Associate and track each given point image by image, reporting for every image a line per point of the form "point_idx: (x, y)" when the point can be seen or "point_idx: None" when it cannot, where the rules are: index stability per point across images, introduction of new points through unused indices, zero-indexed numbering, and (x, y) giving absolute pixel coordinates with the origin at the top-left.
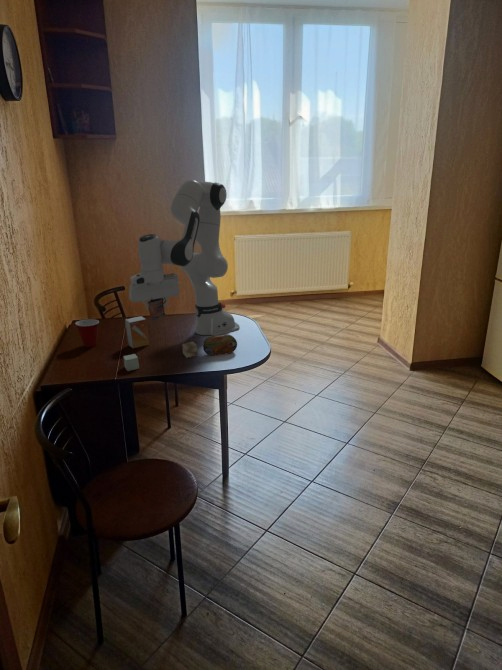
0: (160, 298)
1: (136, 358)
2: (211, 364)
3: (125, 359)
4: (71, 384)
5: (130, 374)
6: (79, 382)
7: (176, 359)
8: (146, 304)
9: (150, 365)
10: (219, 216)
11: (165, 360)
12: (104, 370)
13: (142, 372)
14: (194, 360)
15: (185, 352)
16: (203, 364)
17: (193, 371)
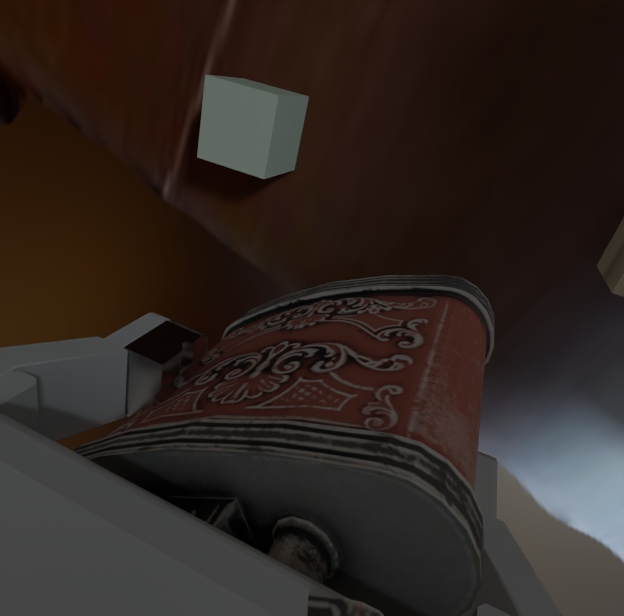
0: (378, 557)
1: (257, 176)
2: (603, 454)
3: (199, 143)
4: (9, 89)
5: (231, 204)
6: (36, 96)
7: (528, 232)
8: (51, 437)
9: (358, 182)
10: None
11: (468, 187)
12: (147, 36)
13: (283, 232)
14: (590, 337)
15: (613, 256)
16: (574, 418)
17: None
